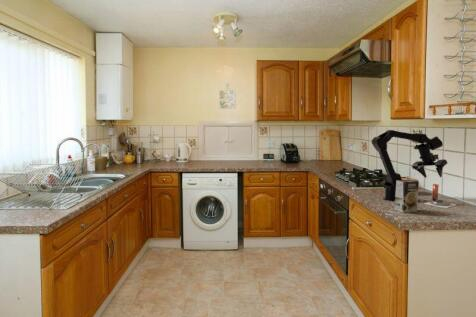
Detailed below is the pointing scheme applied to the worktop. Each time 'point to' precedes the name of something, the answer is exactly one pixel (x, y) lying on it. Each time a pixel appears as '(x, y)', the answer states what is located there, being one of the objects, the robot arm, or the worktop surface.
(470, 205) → the worktop surface
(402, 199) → the coffee box
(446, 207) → the wheel base
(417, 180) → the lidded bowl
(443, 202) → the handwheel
